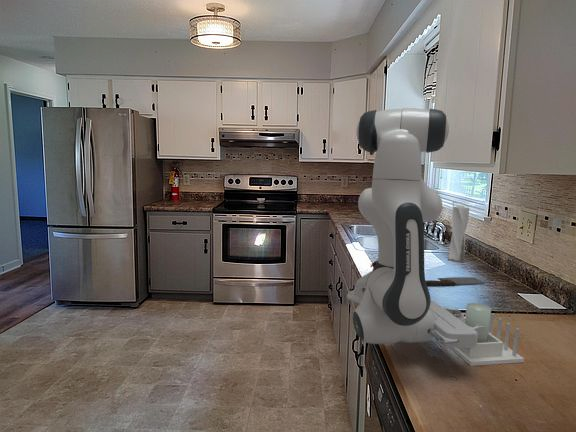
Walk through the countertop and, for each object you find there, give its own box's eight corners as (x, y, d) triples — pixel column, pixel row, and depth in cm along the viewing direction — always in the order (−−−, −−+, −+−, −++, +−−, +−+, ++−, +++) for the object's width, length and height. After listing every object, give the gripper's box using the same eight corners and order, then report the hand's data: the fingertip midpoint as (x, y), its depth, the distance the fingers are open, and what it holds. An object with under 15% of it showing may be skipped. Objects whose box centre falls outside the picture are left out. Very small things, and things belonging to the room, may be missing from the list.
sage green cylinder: (459, 348, 98) (463, 307, 96) (466, 340, 102) (470, 301, 100) (483, 356, 94) (487, 313, 92) (489, 348, 98) (493, 307, 96)
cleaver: (421, 289, 145) (421, 284, 144) (407, 281, 154) (407, 275, 154) (487, 285, 152) (488, 280, 152) (470, 277, 161) (471, 272, 161)
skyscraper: (444, 259, 187) (449, 202, 182) (450, 256, 193) (454, 200, 188) (462, 263, 181) (468, 203, 177) (467, 259, 187) (473, 202, 183)
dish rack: (470, 365, 91) (473, 334, 90) (443, 341, 103) (445, 313, 102) (523, 362, 93) (527, 331, 92) (490, 339, 105) (493, 311, 104)
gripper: (443, 329, 84) (500, 326, 86) (401, 296, 104) (449, 294, 106) (440, 357, 85) (497, 353, 87) (400, 318, 105) (447, 316, 107)
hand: (470, 320), depth 96 cm, fingers open, 8 cm apart
